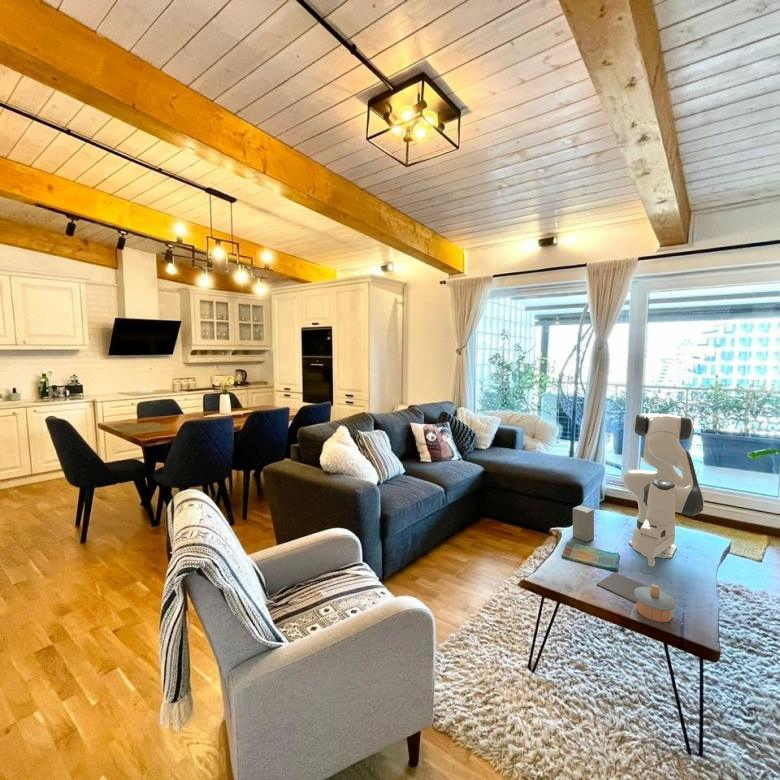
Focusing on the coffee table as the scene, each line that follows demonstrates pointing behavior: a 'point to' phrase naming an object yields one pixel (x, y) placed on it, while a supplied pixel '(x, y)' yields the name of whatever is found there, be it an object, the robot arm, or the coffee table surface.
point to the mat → (621, 586)
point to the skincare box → (583, 523)
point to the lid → (655, 598)
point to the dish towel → (591, 556)
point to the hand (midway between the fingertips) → (657, 561)
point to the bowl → (653, 612)
